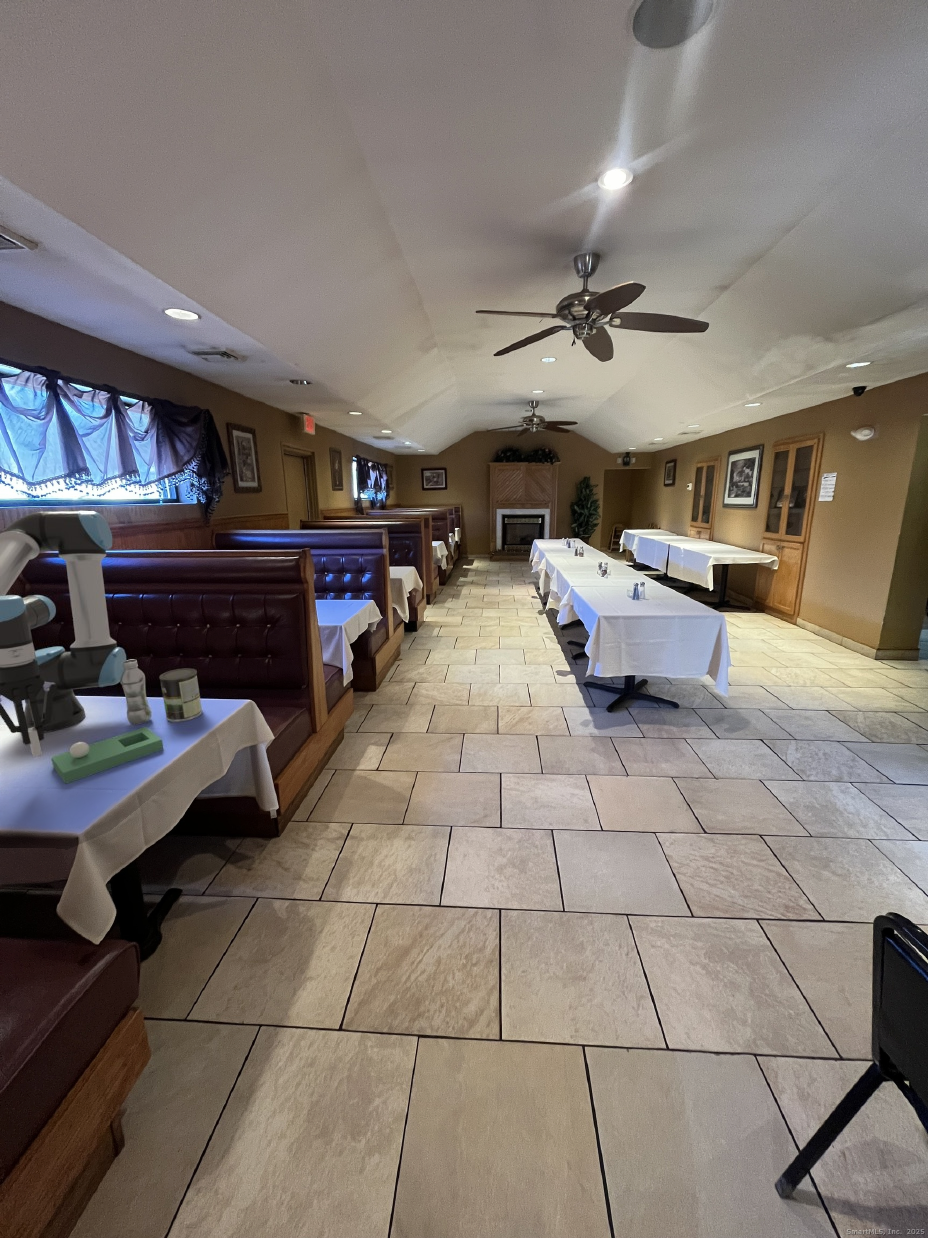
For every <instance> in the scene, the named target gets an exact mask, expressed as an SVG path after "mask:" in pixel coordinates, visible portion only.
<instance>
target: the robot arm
mask: <svg viewBox="0 0 928 1238" xmlns="http://www.w3.org/2000/svg"><path fill="white" fill-rule="evenodd" d="M112 547H113V535H112V531H111V528H110V526H109V524H108V522H107V520H106V518H105V517H104V516H103V515H102V514H101V513H99V512H96V511H92V510H91V511H90V510H89V511H88V510H69V511H68V510H66V511H65V510H63V511H36V512H32V513H30V514H27V515H25V516H22V517H20V518H18V519H16V520H14V521H13V522H12V523H10V524H8V526H6V527H5V528H4V529H3V530H2V531H1V532H0V717H1V719H2V721H3V722H4V723H5V725H6V726H7V728H8V729H9V731H10V732H11V733H12V734H16V733H20V735H21V739H22V742H23V744H24V745H25V746H27V745H29V746H30V752H31V754H32V756H33V757H34V758H35V757H39V756H42V755H43V752H42V748H41V744H40V743H41V742H40V741H44V740H45V734H44V733H49V732H54V731H57V730H61V729H65V728H68V727H71V726H72V725H75V724H77V723H79V722H81V721H83V720H84V718H85V717H86V713H85V708H84V706H83V705H82V703H81V702H80V701H79V700H78V698H77V697H76V695H75V693H74V690H77V689H78V690H79V689H87V688H89V689H90V688H98V687H99V688H103V687H107V686H114V685H118V683H121V681H120V678H121V675H122V673H123V672H124V670H125V669H123V662H124V661H127V654H126V651H125V649H124V648H123V647H120V646H118V645H117V641H116V640H115V639H113V638H112V637H111V634H110V627H109V617H108V610H107V602H106V594H105V593H106V592H105V584H104V583H105V582H104V577H103V567H102V561H103V559H104V558H105V557H107V550H108V551H109V550H110V549H112ZM50 551H52V552H56V551H57V554H58V558H61V559H62V560H63V561H64V562H65V564H66V572H67V580H68V581H67V582H68V590H69V599H70V607H71V613H72V618H73V619H72V621H73V629H74V631H73V632H74V637H75V641H74V642H73V643H71V645H70V646H69V649H70V651H66V649H65V648H64V647H63V646H52V647H47V648H46V647H45V648H41V649H37V650H35V647H34V643H33V637H32V632H31V630H33V629H36V628H38V627H41V626H44V625H46V624H47V623H49V622H51V620H53V618H55V616H56V614H57V613H56V612H57V611H56V610H57V609H56V605H55V603H54V601H52V600H51V599H50V598H49V597H47V596H44V595H40V594H34V595H27V596H25V597H22V596H20V595H15V594H9V595H8V594H7V593H8V591H10V588H11V587H12V585H14V583H15V581H16V580H17V578H18V577H19V575H20V574H21V573H22V571H23V570H24V568H25V567H26V565H27V564H28V562H29V560H33V559H35V558H37V557H38V555H39V554H41V553H43V552H50ZM1 696H2V697H4V698H6V699H7V700H9V701H10V702H12V703H13V704H12V705H13V707H14V711H15V715H16V721H17V723H18V725H15V723H14V722H13V720H12V718H11V717H10V716H9V714H8V712H7V710H6V709H5V708H4V706H3V704H2V703H1V702H2V701H3V700H2V698H1ZM23 701H24V703H25V704H23ZM23 705H25V707H24V706H23Z"/></svg>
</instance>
